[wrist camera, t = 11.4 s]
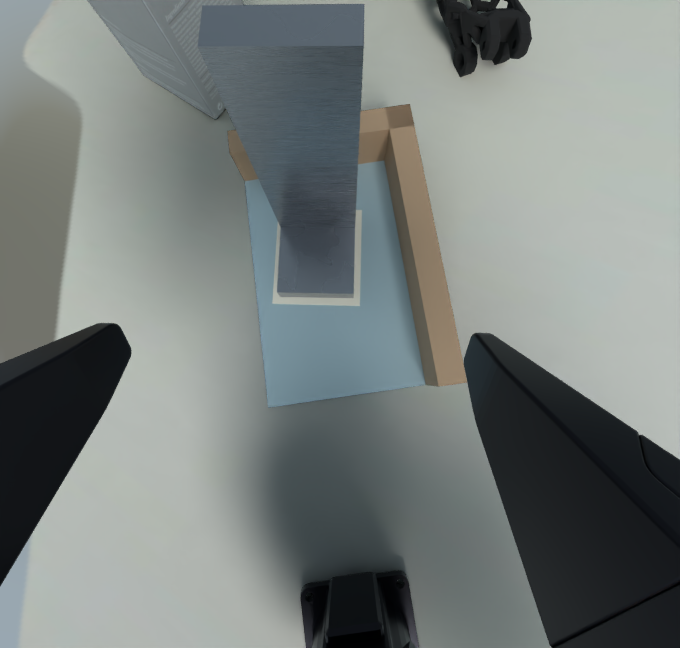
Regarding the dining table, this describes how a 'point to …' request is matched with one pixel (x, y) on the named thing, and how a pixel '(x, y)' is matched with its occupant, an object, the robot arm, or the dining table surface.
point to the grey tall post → (297, 126)
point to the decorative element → (486, 31)
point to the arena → (361, 283)
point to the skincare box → (166, 45)
